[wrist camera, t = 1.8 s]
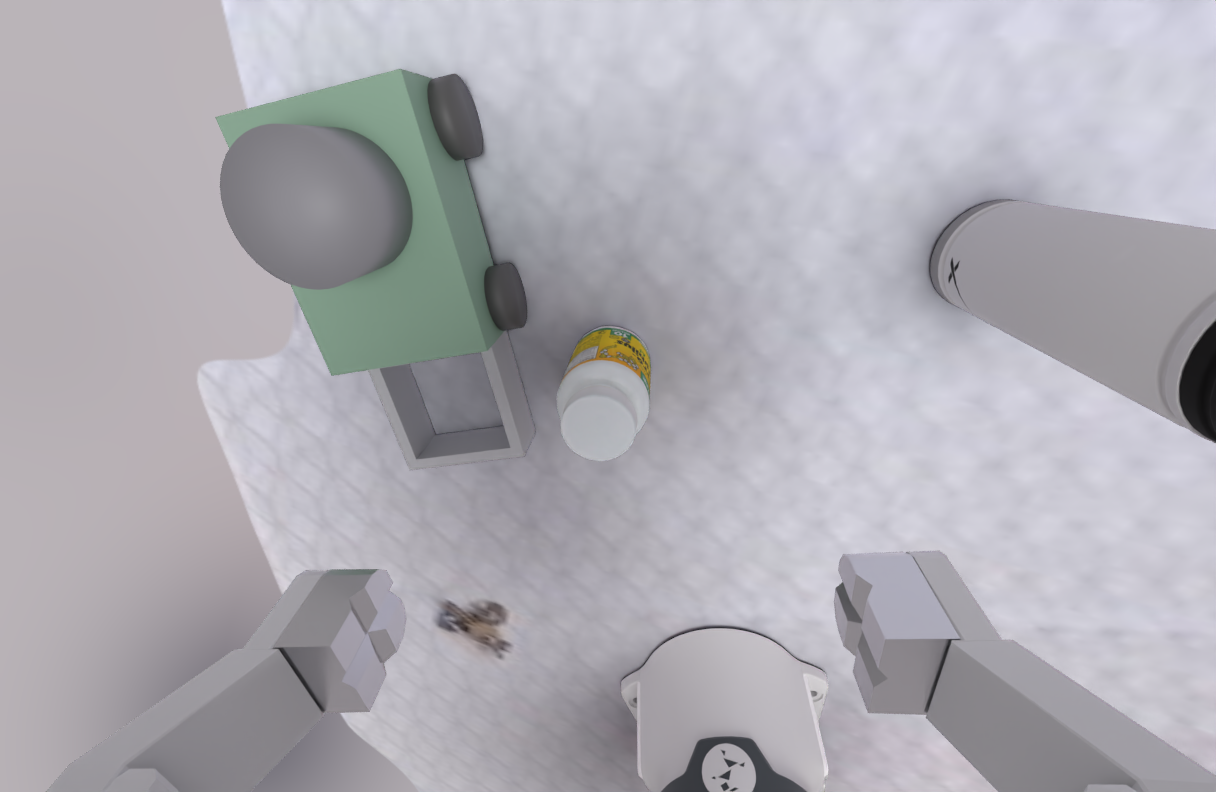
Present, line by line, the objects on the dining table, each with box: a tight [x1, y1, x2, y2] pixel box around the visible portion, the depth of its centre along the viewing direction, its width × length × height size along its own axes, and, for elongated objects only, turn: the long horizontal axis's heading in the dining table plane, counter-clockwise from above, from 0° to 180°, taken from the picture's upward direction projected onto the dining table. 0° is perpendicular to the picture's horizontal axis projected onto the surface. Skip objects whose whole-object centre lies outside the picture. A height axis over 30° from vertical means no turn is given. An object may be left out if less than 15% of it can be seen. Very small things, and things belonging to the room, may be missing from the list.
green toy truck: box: [216, 69, 536, 470], centre depth 30 cm, size 23×12×10 cm, turn 11°
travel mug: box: [930, 200, 1216, 443], centre depth 22 cm, size 6×7×20 cm
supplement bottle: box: [557, 326, 651, 461], centre depth 31 cm, size 5×5×10 cm
